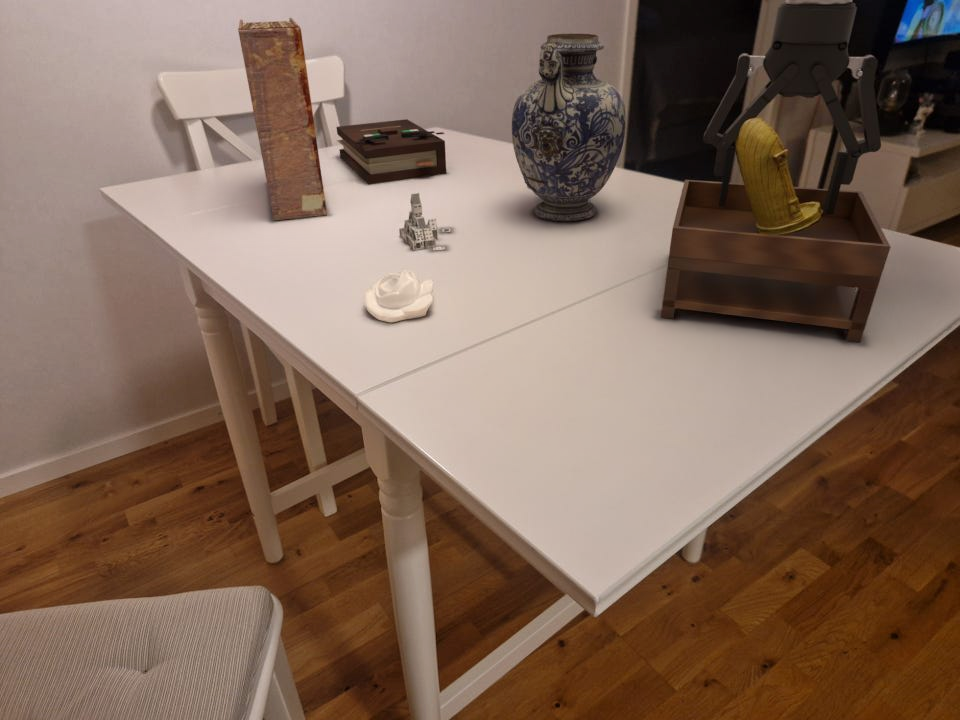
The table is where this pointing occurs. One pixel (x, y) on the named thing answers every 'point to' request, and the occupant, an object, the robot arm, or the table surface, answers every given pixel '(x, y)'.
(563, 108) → the decorative vase
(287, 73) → the book
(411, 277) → the rose
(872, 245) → the brown wooden open box
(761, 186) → the shrine
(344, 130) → the decorative book
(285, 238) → the table surface
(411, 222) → the house of cards
